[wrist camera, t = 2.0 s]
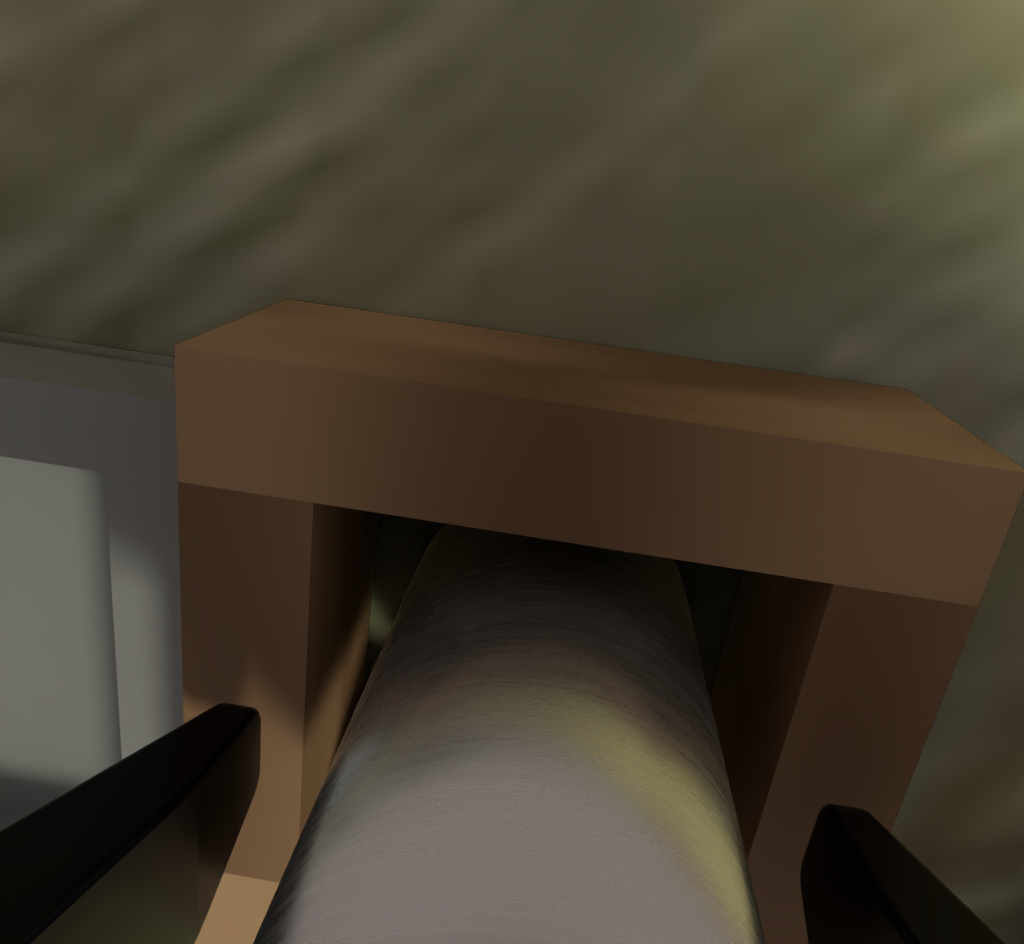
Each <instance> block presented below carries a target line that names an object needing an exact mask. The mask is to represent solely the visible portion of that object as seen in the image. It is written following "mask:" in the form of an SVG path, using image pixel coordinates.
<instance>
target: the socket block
mask: <svg viewBox="0 0 1024 944" xmlns="http://www.w3.org/2000/svg"><path fill="white" fill-rule="evenodd" d="M174 355H175V396H176V436H177V476H178V517H179V557H180V598H181V638H182V678H183V719H184V723H186V722H187V721H189V720H191V719H193V718H194V717H196V716H198V715H199V714H201V713H203V712H205V711H206V710H208V709H210V708H212V707H213V706H215V705H217V704H220V703H230V704H236V705H242V706H248V707H253V708H255V709H257V710H258V711H259V713H260V717H261V757H260V776H259V781H258V785H257V789H256V792H255V795H254V797H253V800H252V802H251V805H250V808H249V810H248V813H247V815H246V818H245V820H244V823H243V825H242V828H241V830H240V833H239V835H238V838H237V840H236V843H235V846H234V848H233V851H232V853H231V856H230V858H229V861H228V863H227V866H226V868H225V871H224V873H223V876H222V879H221V881H220V884H219V886H218V889H217V891H216V894H215V896H214V899H213V901H212V904H211V906H210V909H209V911H208V914H207V916H206V919H205V921H204V923H203V926H202V928H201V931H200V933H199V935H198V937H197V939H196V941H195V943H194V944H253V942H254V940H255V938H256V935H257V933H258V931H259V929H260V926H261V924H262V922H263V919H264V917H265V915H266V913H267V910H268V908H269V906H270V903H271V901H272V899H273V896H274V894H275V892H276V890H277V887H278V885H279V883H280V880H281V878H282V876H283V874H284V871H285V869H286V867H287V864H288V862H289V860H290V858H291V855H292V853H293V851H294V848H295V846H296V844H297V842H298V839H299V837H300V835H301V832H302V830H303V828H304V826H305V823H306V821H307V819H308V816H309V814H310V812H311V810H312V807H313V805H314V803H315V800H316V798H317V796H318V794H319V791H320V789H321V787H322V784H323V782H324V780H325V778H326V775H327V773H328V771H329V768H330V766H331V764H332V762H333V759H334V757H335V755H336V752H337V750H338V748H339V746H340V743H341V741H342V739H343V736H344V734H345V732H346V730H347V727H348V725H349V723H350V720H351V718H352V716H353V714H354V711H355V709H356V707H357V704H358V702H359V700H360V698H361V695H362V693H363V691H364V688H365V678H366V665H367V651H368V638H369V624H370V611H371V597H372V584H373V570H374V557H375V543H376V530H377V516H378V513H382V514H388V515H395V516H401V517H408V518H414V519H420V520H427V521H433V522H440V523H446V524H452V525H459V526H465V527H472V528H478V529H484V530H491V531H497V532H504V533H510V534H516V535H523V536H529V537H536V538H542V539H548V540H555V541H561V542H568V543H574V544H580V545H587V546H593V547H599V548H606V549H612V550H619V551H625V552H631V553H638V554H644V555H651V556H657V557H663V558H670V559H676V560H683V561H689V562H695V563H702V564H708V565H715V566H721V567H727V568H734V569H740V570H744V573H743V576H742V580H741V584H740V588H739V591H738V595H737V599H736V603H735V607H734V610H733V614H732V618H731V622H730V626H729V629H728V633H727V637H726V641H725V645H724V648H723V652H722V656H721V660H720V664H719V667H718V671H717V675H716V679H715V683H714V686H713V690H712V694H711V698H710V702H711V706H712V711H713V715H714V719H715V724H716V728H717V732H718V737H719V741H720V745H721V750H722V754H723V759H724V763H725V767H726V772H727V776H728V780H729V785H730V789H731V793H732V798H733V802H734V807H735V811H736V815H737V820H738V824H739V828H740V833H741V837H742V841H743V846H744V850H745V855H746V859H747V863H748V868H749V872H750V876H751V881H752V885H753V889H754V894H755V898H756V902H757V907H758V911H759V916H760V920H761V924H762V929H763V933H764V937H765V942H766V944H808V937H807V930H806V923H805V916H804V909H803V901H802V894H801V886H800V870H801V864H802V860H803V857H804V854H805V851H806V848H807V845H808V842H809V840H810V837H811V834H812V831H813V828H814V825H815V822H816V819H817V816H818V814H819V812H820V810H821V809H822V807H823V806H825V805H827V804H837V805H843V806H849V807H855V808H860V809H864V810H866V811H868V812H869V813H870V814H871V815H872V816H874V817H875V818H876V819H877V820H878V821H879V822H880V823H881V824H882V825H883V826H884V827H885V828H886V829H887V830H888V831H889V832H891V829H892V827H893V824H894V822H895V819H896V817H897V814H898V812H899V809H900V806H901V804H902V801H903V799H904V796H905V794H906V791H907V788H908V786H909V783H910V781H911V778H912V776H913V773H914V771H915V768H916V765H917V763H918V760H919V758H920V755H921V753H922V750H923V747H924V745H925V742H926V740H927V737H928V735H929V732H930V730H931V727H932V724H933V722H934V719H935V717H936V714H937V712H938V709H939V706H940V704H941V701H942V699H943V696H944V694H945V691H946V689H947V686H948V683H949V681H950V678H951V676H952V673H953V671H954V668H955V665H956V663H957V660H958V658H959V655H960V653H961V650H962V648H963V645H964V642H965V640H966V637H967V635H968V632H969V630H970V627H971V624H972V622H973V619H974V617H975V614H976V612H977V609H978V607H979V604H980V601H981V599H982V596H983V594H984V591H985V589H986V586H987V583H988V581H989V578H990V576H991V573H992V571H993V568H994V566H995V563H996V560H997V558H998V555H999V553H1000V550H1001V548H1002V545H1003V542H1004V540H1005V537H1006V535H1007V532H1008V530H1009V527H1010V525H1011V522H1012V519H1013V517H1014V514H1015V512H1016V509H1017V507H1018V504H1019V501H1020V499H1021V496H1022V494H1023V491H1024V469H1023V468H1022V467H1020V466H1019V465H1017V464H1016V463H1014V462H1013V461H1011V460H1010V459H1009V458H1007V457H1006V456H1004V455H1003V454H1001V453H1000V452H998V451H997V450H995V449H994V448H992V447H991V446H989V445H988V444H986V443H985V442H983V441H982V440H980V439H979V438H978V437H976V436H975V435H973V434H972V433H970V432H969V431H967V430H966V429H964V428H963V427H961V426H960V425H958V424H957V423H955V422H954V421H952V420H951V419H950V418H948V417H947V416H945V415H944V414H942V413H941V412H939V411H938V410H936V409H935V408H933V407H932V406H930V405H929V404H927V403H926V402H924V401H923V400H922V399H920V398H919V397H917V396H916V395H914V394H913V393H911V392H910V391H908V390H905V389H898V388H891V387H884V386H877V385H871V384H864V383H857V382H850V381H843V380H836V379H830V378H823V377H816V376H809V375H802V374H795V373H789V372H782V371H775V370H768V369H761V368H754V367H748V366H741V365H734V364H727V363H720V362H713V361H707V360H700V359H693V358H686V357H679V356H672V355H666V354H659V353H652V352H645V351H638V350H631V349H625V348H618V347H611V346H604V345H597V344H590V343H584V342H577V341H570V340H563V339H556V338H549V337H543V336H536V335H529V334H522V333H515V332H508V331H502V330H495V329H488V328H481V327H474V326H467V325H461V324H454V323H447V322H440V321H433V320H426V319H420V318H413V317H406V316H399V315H392V314H385V313H379V312H372V311H365V310H358V309H351V308H344V307H338V306H331V305H324V304H317V303H310V302H303V301H297V300H290V299H285V300H283V301H281V302H278V303H276V304H273V305H271V306H269V307H266V308H264V309H261V310H259V311H256V312H254V313H252V314H249V315H247V316H244V317H242V318H239V319H237V320H235V321H232V322H230V323H227V324H225V325H222V326H220V327H218V328H215V329H213V330H210V331H208V332H206V333H203V334H201V335H198V336H196V337H193V338H191V339H189V340H186V341H184V342H181V343H179V344H176V345H174Z"/></svg>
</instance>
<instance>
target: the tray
mask: <svg viewBox="0 0 1024 944" xmlns="http://www.w3.org/2000/svg"><path fill="white" fill-rule="evenodd" d="M182 724H184V719H183V678H182V638H181V598H180V557H179V517H178V476H177V436H176V396H175V357H170V356H163V355H157V354H150V353H143V352H137V351H130V350H123V349H117V348H110V347H103V346H97V345H90V344H83V343H77V342H70V341H63V340H57V339H50V338H43V337H37V336H30V335H23V334H17V333H10V332H3V331H0V830H1V829H3V828H5V827H6V826H8V825H10V824H11V823H13V822H15V821H17V820H18V819H20V818H22V817H24V816H25V815H27V814H29V813H30V812H32V811H34V810H36V809H37V808H39V807H41V806H43V805H44V804H46V803H48V802H49V801H51V800H53V799H55V798H56V797H58V796H60V795H61V794H63V793H65V792H67V791H68V790H70V789H72V788H74V787H75V786H77V785H79V784H80V783H82V782H84V781H86V780H87V779H89V778H91V777H93V776H94V775H96V774H98V773H99V772H101V771H103V770H105V769H106V768H108V767H110V766H112V765H113V764H115V763H117V762H118V761H120V760H122V759H124V758H125V757H127V756H129V755H130V754H132V753H134V752H136V751H137V750H139V749H141V748H143V747H144V746H146V745H148V744H149V743H151V742H153V741H155V740H156V739H158V738H160V737H162V736H163V735H165V734H167V733H168V732H170V731H172V730H174V729H175V728H177V727H179V726H181V725H182Z"/></svg>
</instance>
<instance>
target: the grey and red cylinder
mask: <svg viewBox="0 0 1024 944" xmlns="http://www.w3.org/2000/svg"><path fill="white" fill-rule="evenodd" d="M253 944H766V942H765V937H764V933H763V929H762V924H761V920H760V916H759V911H758V907H757V902H756V898H755V894H754V889H753V885H752V881H751V876H750V872H749V868H748V863H747V859H746V855H745V850H744V846H743V841H742V837H741V833H740V828H739V824H738V820H737V815H736V811H735V807H734V802H733V798H732V793H731V789H730V785H729V780H728V776H727V772H726V767H725V763H724V759H723V754H722V750H721V745H720V741H719V737H718V732H717V728H716V724H715V719H714V715H713V711H712V706H711V702H710V697H709V693H708V689H707V684H706V680H705V676H704V671H703V667H702V663H701V658H700V654H699V649H698V645H697V641H696V636H695V632H694V628H693V623H692V619H691V615H690V610H689V606H688V601H687V597H686V593H685V588H684V585H683V581H682V578H681V575H680V571H679V569H678V567H677V565H676V563H675V560H674V559H670V558H663V557H657V556H651V555H644V554H638V553H631V552H625V551H619V550H612V549H606V548H599V547H593V546H587V545H580V544H574V543H568V542H561V541H555V540H548V539H542V538H536V537H529V536H523V535H516V534H510V533H504V532H497V531H491V530H484V529H478V528H472V527H465V526H459V525H452V524H445V525H444V526H443V527H442V528H441V529H440V530H439V531H438V532H437V534H436V535H435V536H434V538H433V539H432V541H431V542H430V544H429V545H428V546H427V548H426V550H425V552H424V554H423V556H422V558H421V560H420V563H419V565H418V567H417V569H416V572H415V574H414V576H413V579H412V581H411V583H410V585H409V588H408V590H407V592H406V595H405V597H404V599H403V601H402V604H401V606H400V608H399V611H398V613H397V615H396V617H395V620H394V622H393V624H392V627H391V629H390V631H389V633H388V636H387V638H386V640H385V643H384V645H383V647H382V649H381V652H380V654H379V656H378V659H377V661H376V663H375V666H374V668H373V670H372V672H371V675H370V677H369V679H368V682H367V684H366V686H365V688H364V691H363V693H362V695H361V698H360V700H359V702H358V704H357V707H356V709H355V711H354V714H353V716H352V718H351V720H350V723H349V725H348V727H347V730H346V732H345V734H344V736H343V739H342V741H341V743H340V746H339V748H338V750H337V752H336V755H335V757H334V759H333V762H332V764H331V766H330V768H329V771H328V773H327V775H326V778H325V780H324V782H323V784H322V787H321V789H320V791H319V794H318V796H317V798H316V800H315V803H314V805H313V807H312V810H311V812H310V814H309V816H308V819H307V821H306V823H305V826H304V828H303V830H302V832H301V835H300V837H299V839H298V842H297V844H296V846H295V848H294V851H293V853H292V855H291V858H290V860H289V862H288V864H287V867H286V869H285V871H284V874H283V876H282V878H281V880H280V883H279V885H278V887H277V890H276V892H275V894H274V896H273V899H272V901H271V903H270V906H269V908H268V910H267V913H266V915H265V917H264V919H263V922H262V924H261V926H260V929H259V931H258V933H257V935H256V938H255V940H254V942H253Z"/></svg>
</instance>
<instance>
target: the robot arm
mask: <svg viewBox="0 0 1024 944" xmlns="http://www.w3.org/2000/svg"><path fill="white" fill-rule="evenodd" d="M260 757H261V717H260V713H259V711H258V710H257V709H255V708H253V707H248V706H242V705H236V704H230V703H220V704H217V705H215V706H213V707H212V708H210V709H208V710H206V711H205V712H203V713H201V714H199V715H198V716H196V717H194V718H193V719H191V720H189V721H187V722H186V723H184V724H182V725H181V726H179V727H177V728H175V729H174V730H172V731H170V732H168V733H167V734H165V735H163V736H162V737H160V738H158V739H156V740H155V741H153V742H151V743H149V744H148V745H146V746H144V747H143V748H141V749H139V750H137V751H136V752H134V753H132V754H130V755H129V756H127V757H125V758H124V759H122V760H120V761H118V762H117V763H115V764H113V765H112V766H110V767H108V768H106V769H105V770H103V771H101V772H99V773H98V774H96V775H94V776H93V777H91V778H89V779H87V780H86V781H84V782H82V783H80V784H79V785H77V786H75V787H74V788H72V789H70V790H68V791H67V792H65V793H63V794H61V795H60V796H58V797H56V798H55V799H53V800H51V801H49V802H48V803H46V804H44V805H43V806H41V807H39V808H37V809H36V810H34V811H32V812H30V813H29V814H27V815H25V816H24V817H22V818H20V819H18V820H17V821H15V822H13V823H11V824H10V825H8V826H6V827H5V828H3V829H1V830H0V944H194V943H195V941H196V939H197V937H198V935H199V933H200V931H201V928H202V926H203V923H204V921H205V919H206V916H207V914H208V911H209V909H210V906H211V904H212V901H213V899H214V896H215V894H216V891H217V889H218V886H219V884H220V881H221V879H222V876H223V873H224V871H225V868H226V866H227V863H228V861H229V858H230V856H231V853H232V851H233V848H234V846H235V843H236V840H237V838H238V835H239V833H240V830H241V828H242V825H243V823H244V820H245V818H246V815H247V813H248V810H249V808H250V805H251V802H252V800H253V797H254V795H255V792H256V789H257V785H258V781H259V776H260ZM800 886H801V894H802V901H803V909H804V916H805V923H806V930H807V937H808V944H1005V943H1004V942H1003V941H1002V940H1001V939H1000V938H999V937H998V936H997V935H996V934H995V933H994V932H993V931H992V930H991V929H990V928H989V927H988V926H987V925H986V924H985V923H984V922H983V921H982V920H981V919H979V918H978V917H977V916H976V915H975V914H974V913H973V912H972V911H971V910H970V909H969V908H968V907H967V906H966V905H965V904H964V903H963V902H962V901H961V900H960V899H959V898H958V897H957V896H956V895H955V894H954V893H952V892H951V891H950V890H949V889H948V888H947V887H946V886H945V885H944V884H943V883H942V882H941V881H940V880H939V879H938V878H937V877H936V876H935V875H934V874H933V873H932V872H931V871H930V870H929V869H928V868H927V867H925V866H924V865H923V864H922V863H921V862H920V861H919V860H918V859H917V858H916V857H915V856H914V855H913V854H912V853H911V852H910V851H909V850H908V849H907V848H906V847H905V846H904V845H903V844H902V843H901V842H900V841H899V840H897V839H896V838H895V837H894V836H893V835H892V834H891V833H890V832H889V831H888V830H887V829H886V828H885V827H884V826H883V825H882V824H881V823H880V822H879V821H878V820H877V819H876V818H875V817H874V816H872V815H871V814H870V813H869V812H868V811H866V810H864V809H860V808H855V807H849V806H843V805H837V804H827V805H825V806H823V807H822V809H821V810H820V812H819V814H818V816H817V819H816V822H815V825H814V828H813V831H812V834H811V837H810V840H809V842H808V845H807V848H806V851H805V854H804V857H803V860H802V864H801V870H800Z"/></svg>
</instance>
